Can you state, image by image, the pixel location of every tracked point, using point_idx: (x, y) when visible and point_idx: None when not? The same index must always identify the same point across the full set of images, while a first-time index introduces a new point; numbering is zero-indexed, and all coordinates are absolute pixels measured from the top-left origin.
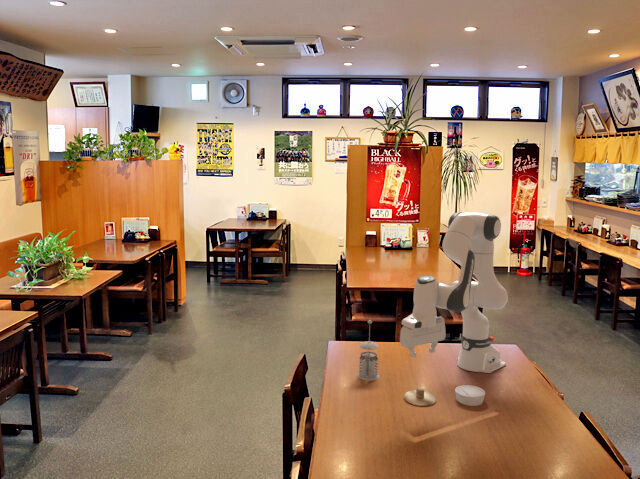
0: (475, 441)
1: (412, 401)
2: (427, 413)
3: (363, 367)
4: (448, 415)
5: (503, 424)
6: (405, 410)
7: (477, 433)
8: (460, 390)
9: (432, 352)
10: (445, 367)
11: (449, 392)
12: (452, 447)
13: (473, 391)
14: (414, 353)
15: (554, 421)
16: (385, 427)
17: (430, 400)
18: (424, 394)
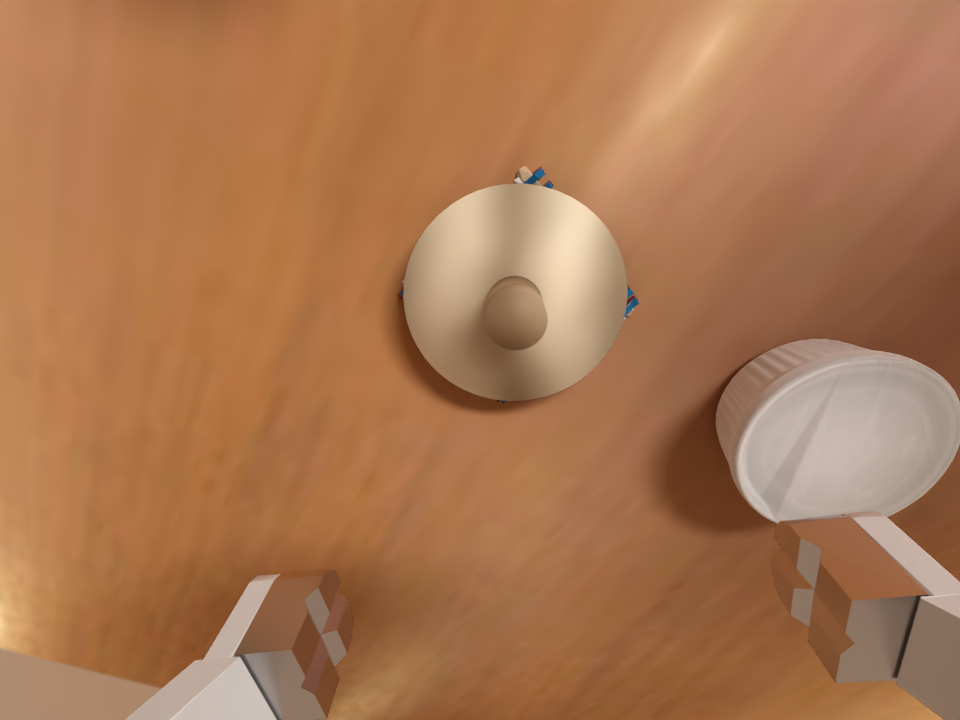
0: (526, 652)
1: (427, 343)
2: (476, 423)
3: None
4: (569, 475)
5: (742, 608)
6: (372, 354)
7: (577, 620)
8: (798, 414)
9: (794, 594)
10: None
11: (815, 227)
12: (417, 652)
13: (858, 469)
14: (282, 709)
15: None
16: (202, 467)
17: (549, 370)
18: (568, 279)
